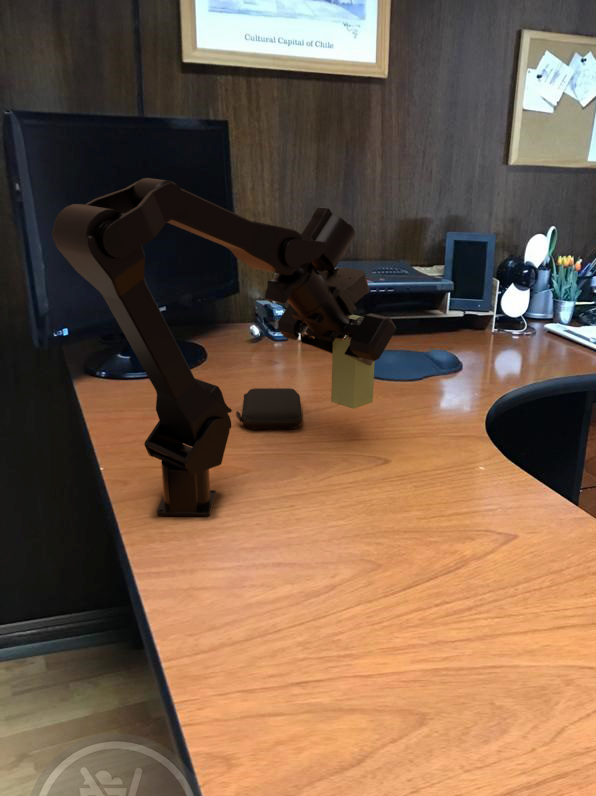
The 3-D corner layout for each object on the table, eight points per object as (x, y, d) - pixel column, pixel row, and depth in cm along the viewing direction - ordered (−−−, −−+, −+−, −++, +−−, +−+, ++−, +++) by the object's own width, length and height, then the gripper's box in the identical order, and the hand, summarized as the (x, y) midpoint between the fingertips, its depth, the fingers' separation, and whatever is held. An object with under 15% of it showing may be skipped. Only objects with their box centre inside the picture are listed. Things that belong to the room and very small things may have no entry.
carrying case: (238, 402, 136) (235, 432, 122) (238, 385, 135) (234, 414, 121) (299, 401, 137) (303, 432, 124) (299, 385, 136) (303, 414, 123)
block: (353, 409, 117) (356, 324, 112) (331, 401, 119) (333, 318, 114) (372, 402, 120) (376, 319, 115) (350, 395, 123) (353, 314, 118)
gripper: (391, 259, 103) (433, 328, 115) (291, 243, 114) (339, 307, 126) (350, 326, 100) (398, 390, 112) (252, 302, 111) (305, 363, 123)
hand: (359, 359), depth 118 cm, fingers closed on block, 4 cm apart
